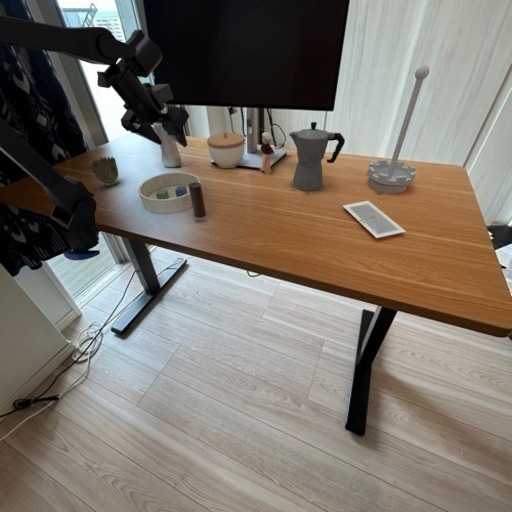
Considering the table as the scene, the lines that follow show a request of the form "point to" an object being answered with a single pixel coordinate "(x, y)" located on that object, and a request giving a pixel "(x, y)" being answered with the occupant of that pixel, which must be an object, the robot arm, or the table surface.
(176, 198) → the bowl
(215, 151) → the lidded bowl
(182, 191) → the blue block
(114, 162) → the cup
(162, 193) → the green block
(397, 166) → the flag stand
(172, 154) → the plastic bottle
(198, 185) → the brown cylinder
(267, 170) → the grandmother figurine
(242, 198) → the table surface
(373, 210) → the touchpad
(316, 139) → the coffeepot
